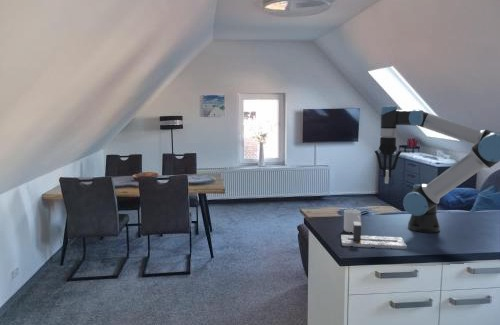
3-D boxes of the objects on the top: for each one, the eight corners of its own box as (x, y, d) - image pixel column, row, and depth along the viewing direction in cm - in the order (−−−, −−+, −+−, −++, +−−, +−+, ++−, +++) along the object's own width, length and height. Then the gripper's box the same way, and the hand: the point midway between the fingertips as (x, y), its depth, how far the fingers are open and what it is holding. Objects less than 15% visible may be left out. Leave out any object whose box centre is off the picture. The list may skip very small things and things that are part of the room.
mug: (367, 234, 207) (368, 214, 206) (353, 235, 205) (353, 215, 204) (354, 227, 219) (355, 208, 218) (340, 229, 216) (341, 209, 215)
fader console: (401, 240, 197) (401, 236, 197) (406, 249, 184) (406, 245, 184) (340, 237, 202) (340, 234, 202) (342, 246, 189) (342, 242, 189)
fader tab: (359, 236, 197) (360, 221, 196) (360, 240, 191) (361, 225, 190) (352, 236, 197) (353, 221, 196) (353, 240, 191) (354, 224, 190)
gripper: (400, 136, 212) (398, 182, 215) (373, 136, 214) (372, 181, 217) (403, 137, 205) (401, 184, 207) (375, 137, 207) (374, 184, 210)
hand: (386, 183), depth 212 cm, fingers closed
